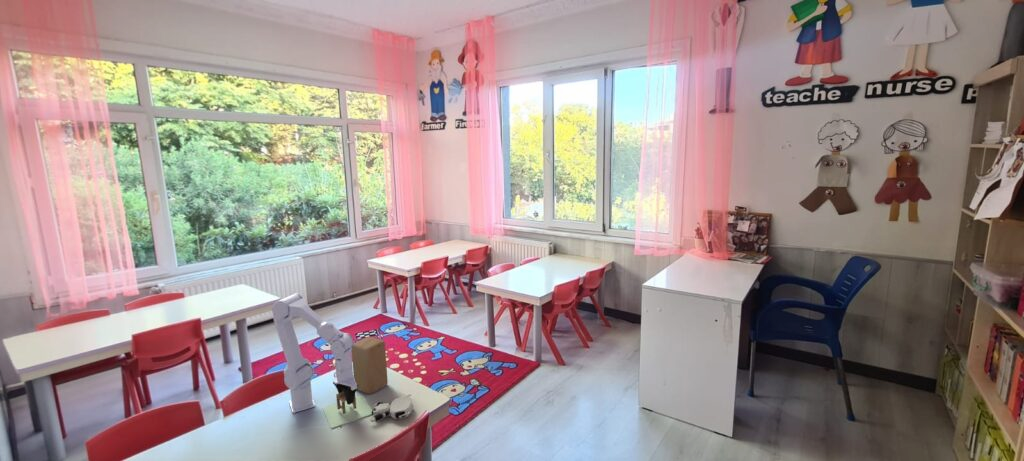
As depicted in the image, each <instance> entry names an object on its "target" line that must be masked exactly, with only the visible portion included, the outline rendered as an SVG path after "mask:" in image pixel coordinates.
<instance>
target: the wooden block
mask: <svg viewBox="0 0 1024 461" xmlns="http://www.w3.org/2000/svg"><path fill="white" fill-rule="evenodd" d="M350 348H351V356H352V369H353V376H354V379H355V382H356V383H357V384H358V388H357V390H356V391H359V392H362V393H365V394H367V395H372V394H374V393H376V392H377V391H379V390H380V389H382V388H384V387H386V386H387V385H388V368H387V365H388V364H387V355H386V350H387V349H386V342H385V341H384V340H382V339H379V338H376V337H372V336H368V337H366V338H363V339H361V340H358V341H357V342H354V343H353V345H352V346H351V347H350Z"/></svg>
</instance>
